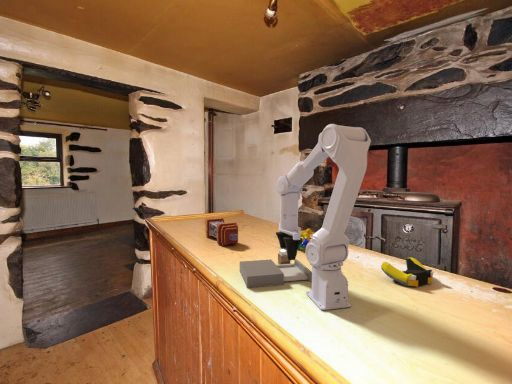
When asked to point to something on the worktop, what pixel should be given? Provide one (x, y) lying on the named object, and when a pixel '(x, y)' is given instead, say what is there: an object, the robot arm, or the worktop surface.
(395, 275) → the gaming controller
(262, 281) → the box
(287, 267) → the tray
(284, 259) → the walnut block
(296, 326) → the worktop surface
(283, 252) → the disc
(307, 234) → the decorative model
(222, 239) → the lantern
